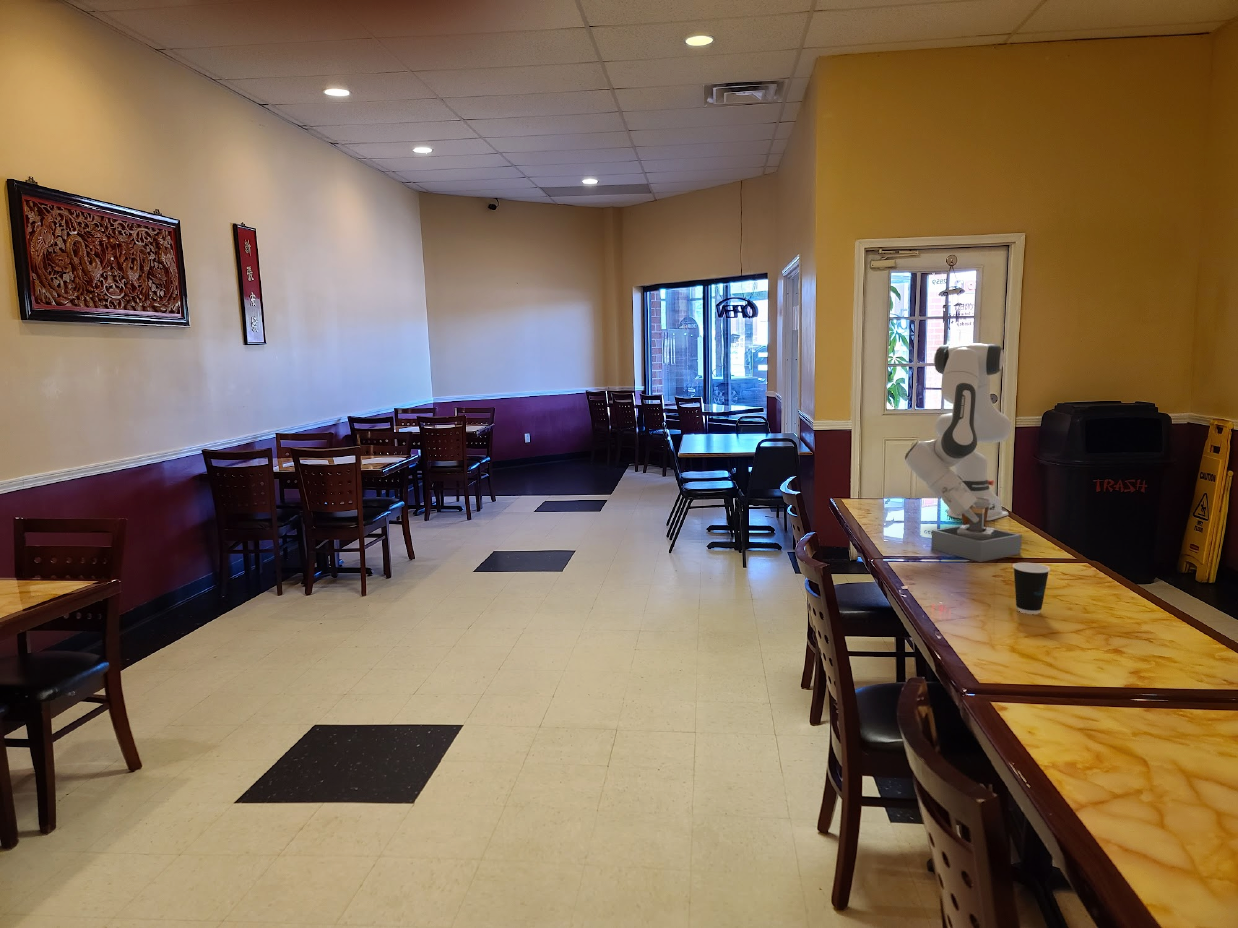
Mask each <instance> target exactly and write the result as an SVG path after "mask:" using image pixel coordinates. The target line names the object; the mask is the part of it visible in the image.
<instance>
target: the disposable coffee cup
mask: <svg viewBox="0 0 1238 928" xmlns="http://www.w3.org/2000/svg"><path fill="white" fill-rule="evenodd" d="M976 499H977V500H976V501H975V502H974V503H973V504H974V505H975V506H976V507H978V508H985V511H984V526H983V527H986V524H987V520H986V519H987V514H988V509H989V506H990V503H989V500H988V499H985V498H979V497H976ZM961 521H962V525H967V524H969V518H968V517H967V516H965V514H964V513H963V514H962V519H961Z"/></svg>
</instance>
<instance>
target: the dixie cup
mask: <svg viewBox="0 0 1238 928" xmlns="http://www.w3.org/2000/svg"><path fill="white" fill-rule="evenodd" d="M1012 568H1013V573H1014V577H1013V578H1014V589H1015V593H1014V595H1015V605H1016V607H1017V611H1018V612H1019V611H1020V612H1019V613H1022V614H1025V613H1026V614H1025V615H1032V614H1034V615H1039V614H1040V613H1041V610H1042V608H1043V604H1044V598H1045V593H1046V587H1047V582H1048V577H1049V572H1050V571H1051V568H1050V567H1049V566H1047V565H1045V564H1041V563H1035V562H1017V563H1013V564H1012ZM1038 613H1039V614H1038Z"/></svg>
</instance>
